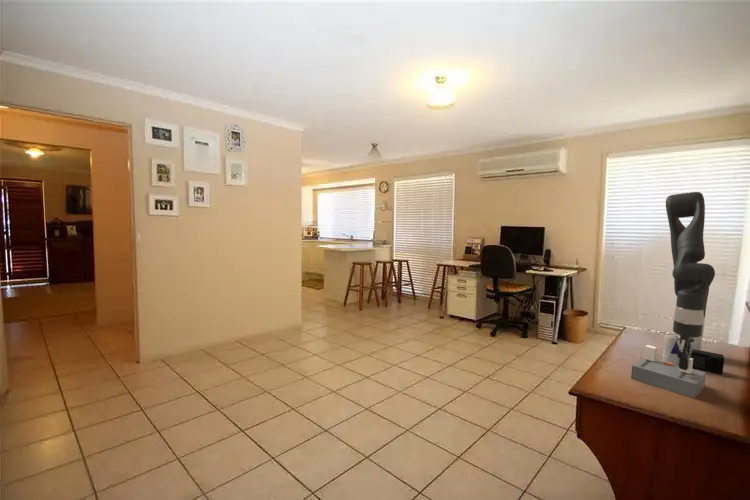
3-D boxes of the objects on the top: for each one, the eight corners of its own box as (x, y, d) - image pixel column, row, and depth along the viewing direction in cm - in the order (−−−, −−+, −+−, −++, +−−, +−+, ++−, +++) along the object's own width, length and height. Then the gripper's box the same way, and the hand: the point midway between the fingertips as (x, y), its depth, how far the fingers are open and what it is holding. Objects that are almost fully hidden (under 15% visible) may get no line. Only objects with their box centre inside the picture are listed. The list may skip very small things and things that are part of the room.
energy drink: (682, 367, 141) (685, 338, 139) (666, 366, 142) (669, 337, 140) (673, 362, 146) (676, 334, 145) (659, 361, 147) (661, 333, 146)
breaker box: (643, 368, 140) (644, 354, 140) (704, 386, 126) (706, 371, 126) (630, 378, 132) (632, 363, 131) (694, 398, 118) (696, 382, 117)
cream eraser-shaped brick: (680, 369, 128) (682, 355, 127) (691, 372, 125) (693, 358, 125) (678, 370, 126) (680, 357, 126) (690, 374, 124) (691, 360, 123)
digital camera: (686, 368, 140) (688, 351, 139) (685, 364, 144) (687, 347, 144) (722, 376, 134) (724, 358, 133) (721, 371, 138) (723, 354, 137)
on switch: (646, 357, 138) (647, 344, 137) (655, 359, 136) (656, 347, 135) (644, 358, 136) (645, 346, 136) (653, 361, 134) (654, 348, 134)
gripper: (679, 314, 128) (674, 360, 130) (668, 321, 120) (664, 370, 122) (707, 319, 122) (702, 367, 124) (698, 327, 114) (692, 378, 116)
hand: (683, 368), depth 123 cm, fingers closed
